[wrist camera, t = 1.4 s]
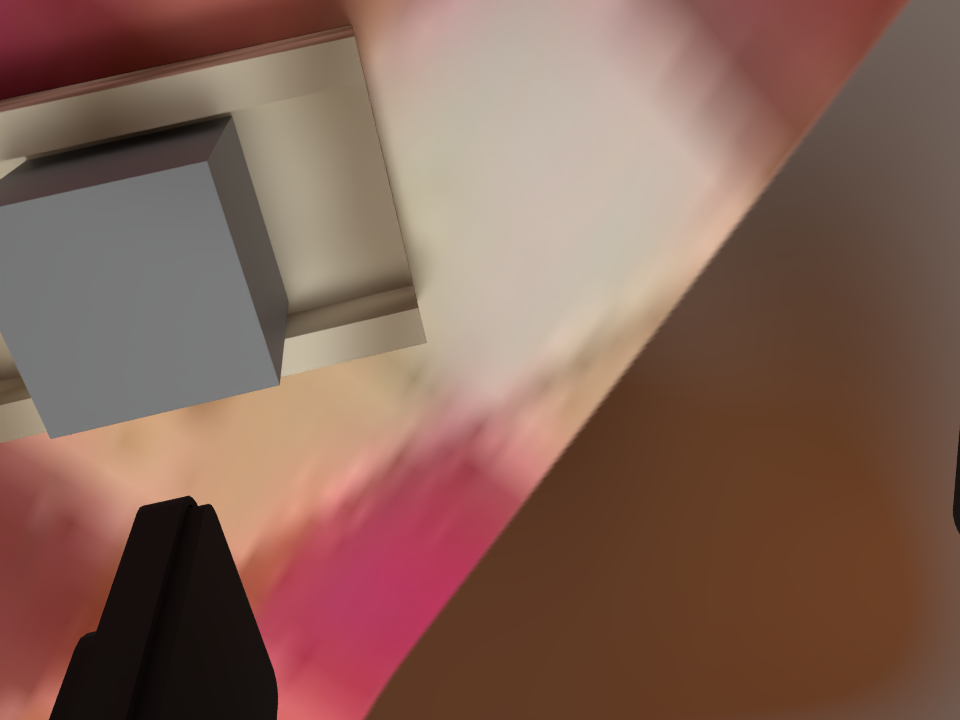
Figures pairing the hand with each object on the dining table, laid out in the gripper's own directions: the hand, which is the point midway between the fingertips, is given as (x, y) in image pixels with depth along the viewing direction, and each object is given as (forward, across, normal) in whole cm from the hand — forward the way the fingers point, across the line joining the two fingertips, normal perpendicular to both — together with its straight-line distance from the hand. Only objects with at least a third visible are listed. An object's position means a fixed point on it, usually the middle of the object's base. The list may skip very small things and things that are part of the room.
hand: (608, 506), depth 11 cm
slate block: (+19, +9, 0) cm, 21 cm away
